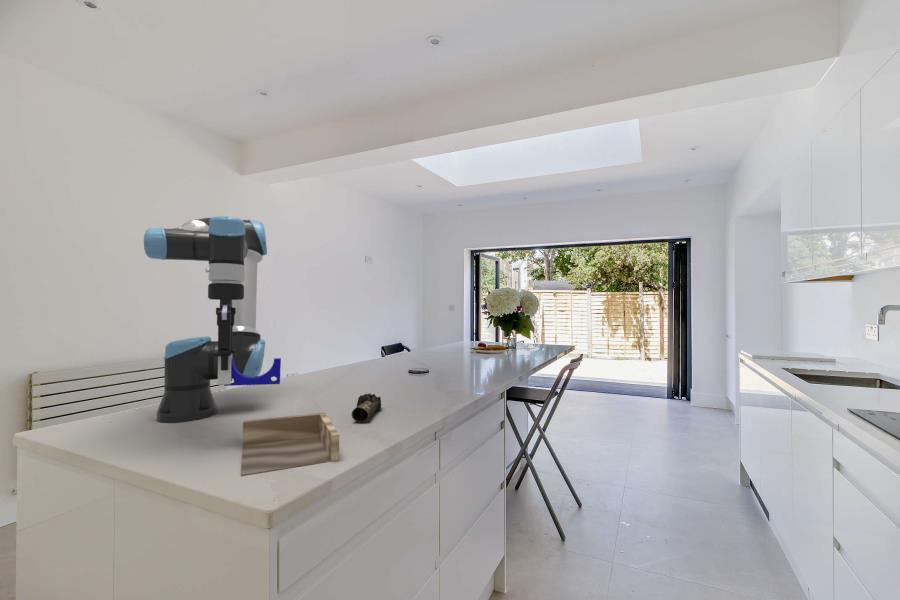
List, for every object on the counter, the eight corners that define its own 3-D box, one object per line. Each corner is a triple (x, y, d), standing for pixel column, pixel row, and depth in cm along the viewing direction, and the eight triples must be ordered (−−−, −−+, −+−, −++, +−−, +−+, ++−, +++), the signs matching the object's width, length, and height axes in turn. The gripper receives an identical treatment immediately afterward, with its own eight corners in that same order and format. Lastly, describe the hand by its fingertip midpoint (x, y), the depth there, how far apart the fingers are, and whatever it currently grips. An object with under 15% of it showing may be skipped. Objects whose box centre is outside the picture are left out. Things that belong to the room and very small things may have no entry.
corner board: (242, 446, 99) (243, 420, 99) (324, 436, 107) (324, 412, 107) (240, 477, 81) (241, 446, 81) (339, 463, 89) (339, 434, 89)
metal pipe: (368, 423, 116) (369, 403, 116) (344, 422, 116) (345, 401, 117) (383, 410, 133) (384, 392, 134) (362, 409, 134) (363, 391, 134)
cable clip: (280, 381, 106) (281, 357, 107) (279, 384, 102) (280, 359, 103) (226, 383, 102) (227, 358, 103) (223, 385, 98) (225, 359, 98)
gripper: (211, 284, 106) (210, 378, 105) (204, 280, 91) (202, 390, 90) (245, 285, 109) (243, 376, 108) (243, 281, 94) (241, 387, 94)
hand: (225, 382), depth 99 cm, fingers closed on cable clip, 3 cm apart
